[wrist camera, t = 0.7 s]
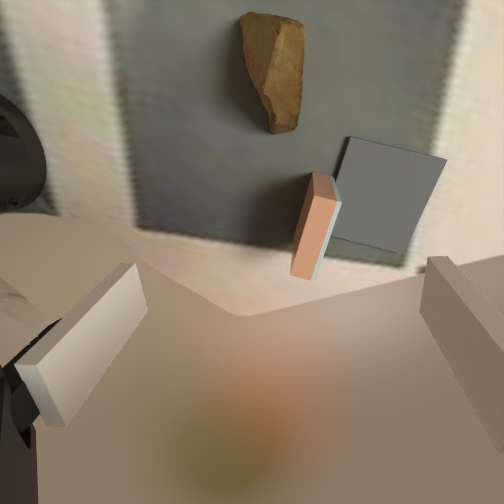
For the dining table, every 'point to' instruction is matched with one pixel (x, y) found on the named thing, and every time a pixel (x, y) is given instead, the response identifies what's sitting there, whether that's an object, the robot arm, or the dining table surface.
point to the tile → (315, 226)
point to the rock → (275, 65)
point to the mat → (383, 193)
